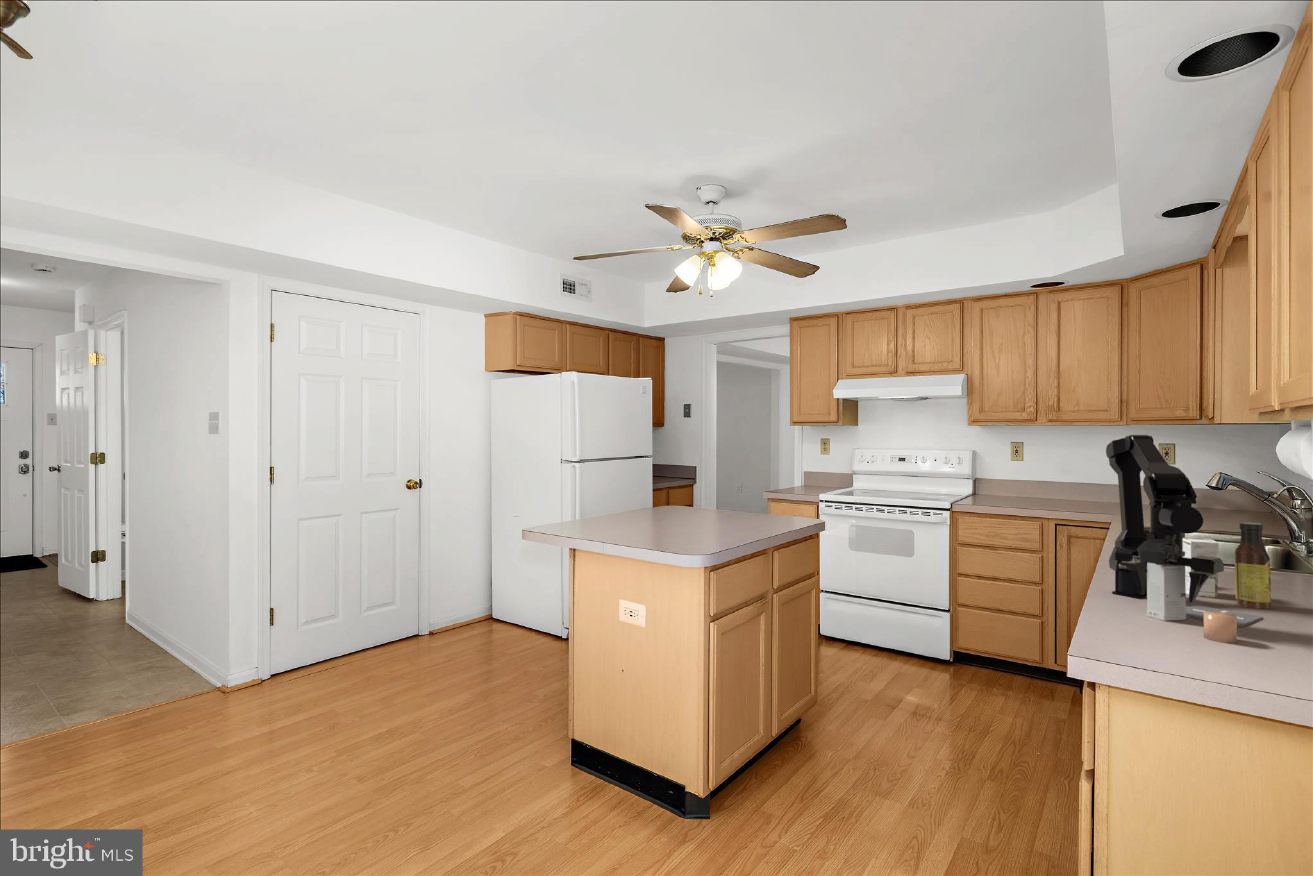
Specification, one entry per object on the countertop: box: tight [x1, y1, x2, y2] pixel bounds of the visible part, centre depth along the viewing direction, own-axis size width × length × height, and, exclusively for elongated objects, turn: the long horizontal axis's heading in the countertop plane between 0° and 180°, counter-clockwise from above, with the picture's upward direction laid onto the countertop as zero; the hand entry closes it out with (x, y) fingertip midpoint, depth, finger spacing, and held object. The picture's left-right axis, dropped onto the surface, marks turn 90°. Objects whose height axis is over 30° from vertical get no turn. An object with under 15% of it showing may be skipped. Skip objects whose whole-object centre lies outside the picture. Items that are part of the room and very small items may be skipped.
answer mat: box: [1186, 604, 1264, 628], centre depth 147 cm, size 12×12×1 cm
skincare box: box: [1146, 563, 1187, 622], centre depth 145 cm, size 6×4×12 cm
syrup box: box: [1183, 537, 1219, 598], centre depth 165 cm, size 6×6×14 cm
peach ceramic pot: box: [1203, 611, 1238, 644], centre depth 130 cm, size 5×5×5 cm
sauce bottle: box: [1234, 522, 1272, 610], centre depth 154 cm, size 6×6×20 cm
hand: (1166, 598), depth 145 cm, fingers open, 9 cm apart
